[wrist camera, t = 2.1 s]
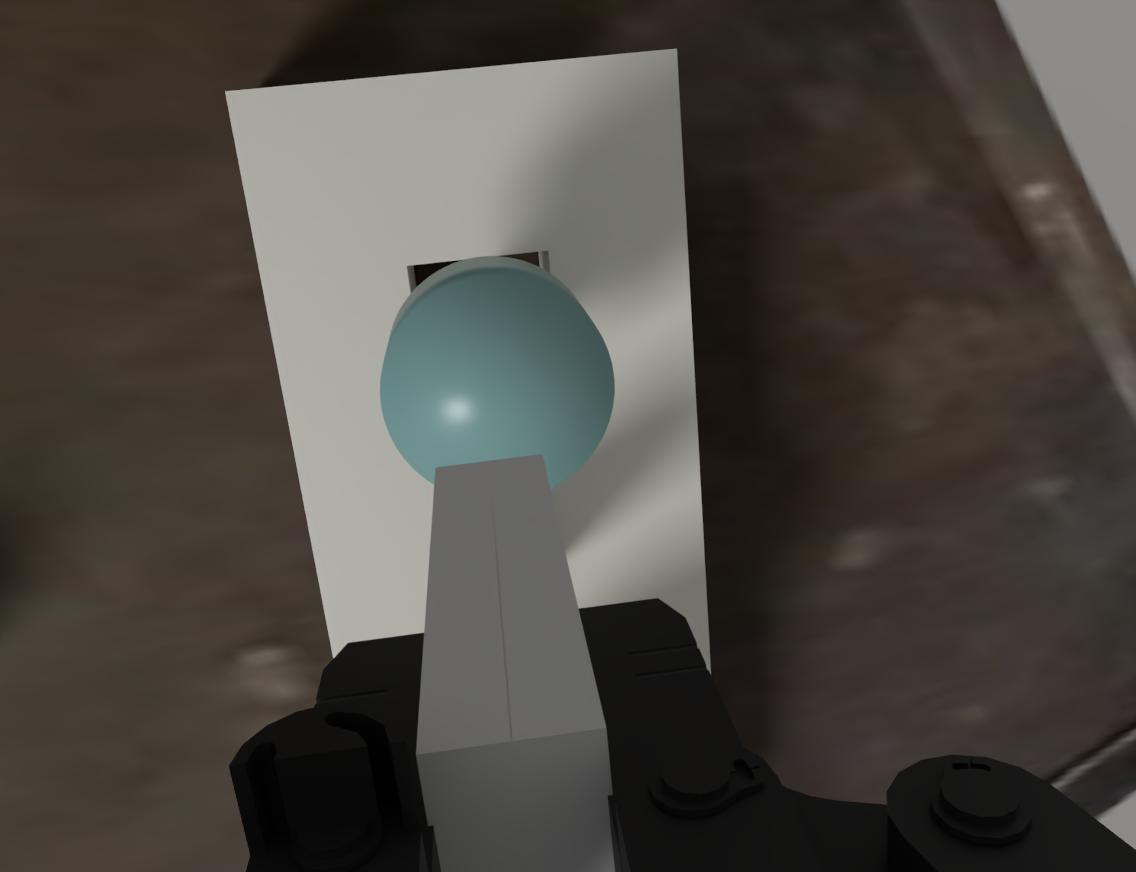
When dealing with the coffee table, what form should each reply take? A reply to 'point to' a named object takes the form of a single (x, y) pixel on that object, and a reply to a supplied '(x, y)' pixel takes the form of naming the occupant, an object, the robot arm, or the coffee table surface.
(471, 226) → the mount board
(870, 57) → the coffee table surface
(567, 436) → the knob teal
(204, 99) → the coffee table surface
